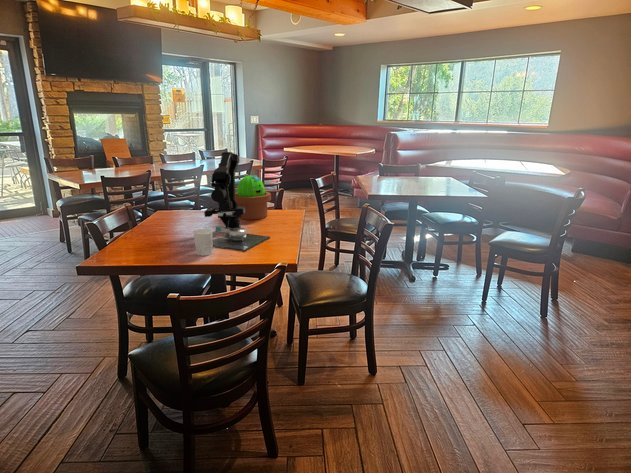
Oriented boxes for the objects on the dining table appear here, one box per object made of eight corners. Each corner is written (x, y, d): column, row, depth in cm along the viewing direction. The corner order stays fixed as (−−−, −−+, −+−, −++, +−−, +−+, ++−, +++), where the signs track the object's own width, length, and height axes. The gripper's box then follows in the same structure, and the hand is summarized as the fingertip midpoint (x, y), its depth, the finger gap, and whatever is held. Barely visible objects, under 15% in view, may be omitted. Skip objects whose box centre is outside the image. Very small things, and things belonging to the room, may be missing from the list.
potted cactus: (226, 216, 244) (223, 174, 237) (258, 210, 258) (256, 170, 250) (245, 223, 228) (243, 178, 221) (278, 216, 241) (277, 174, 234)
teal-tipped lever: (250, 235, 196) (249, 228, 195) (239, 239, 189) (238, 233, 188) (223, 230, 204) (222, 224, 203) (211, 234, 198) (211, 228, 197)
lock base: (201, 244, 191) (201, 239, 190) (229, 232, 210) (229, 228, 209) (245, 251, 182) (244, 246, 181) (270, 238, 201) (270, 233, 200)
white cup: (204, 257, 174) (202, 235, 171) (191, 254, 178) (189, 232, 175) (217, 252, 181) (216, 230, 178) (205, 249, 185) (203, 228, 182)
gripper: (245, 192, 202) (248, 223, 207) (207, 195, 203) (212, 225, 207) (241, 197, 192) (245, 229, 197) (201, 199, 192) (206, 231, 197)
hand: (227, 228), depth 200 cm, fingers closed, pressing on teal-tipped lever
